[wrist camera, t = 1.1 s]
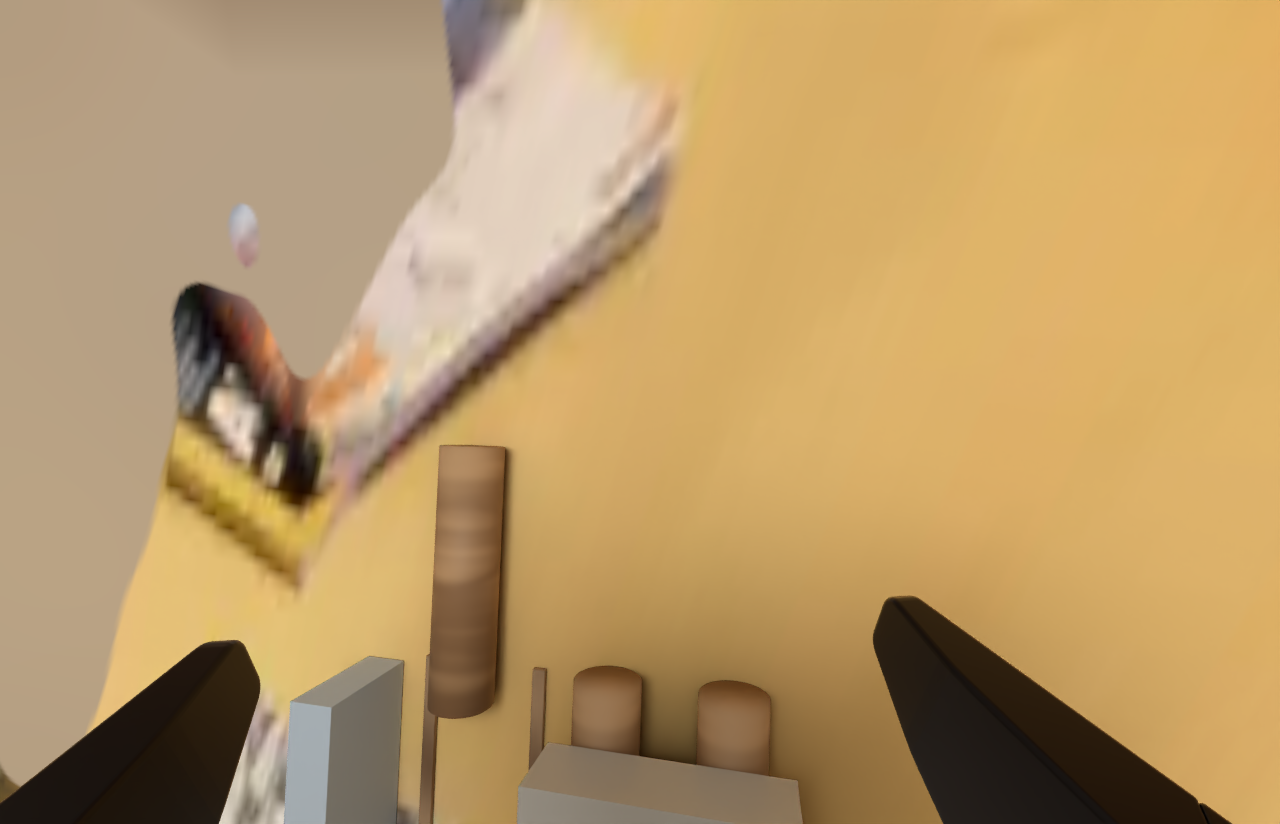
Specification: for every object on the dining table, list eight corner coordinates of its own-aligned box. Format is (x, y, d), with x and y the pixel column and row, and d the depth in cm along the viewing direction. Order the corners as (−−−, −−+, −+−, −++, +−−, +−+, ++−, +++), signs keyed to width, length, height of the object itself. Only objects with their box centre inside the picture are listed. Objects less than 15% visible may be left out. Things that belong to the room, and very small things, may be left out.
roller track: (761, 964, 25) (762, 1036, 22) (418, 889, 28) (379, 942, 25) (769, 685, 25) (771, 718, 22) (429, 643, 28) (392, 668, 25)
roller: (505, 693, 28) (471, 723, 25) (452, 684, 28) (413, 712, 26) (516, 447, 28) (484, 448, 25) (462, 444, 29) (425, 445, 26)
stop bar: (394, 863, 28) (318, 953, 23) (358, 856, 29) (277, 942, 24) (403, 660, 29) (331, 707, 24) (368, 656, 29) (290, 701, 24)
